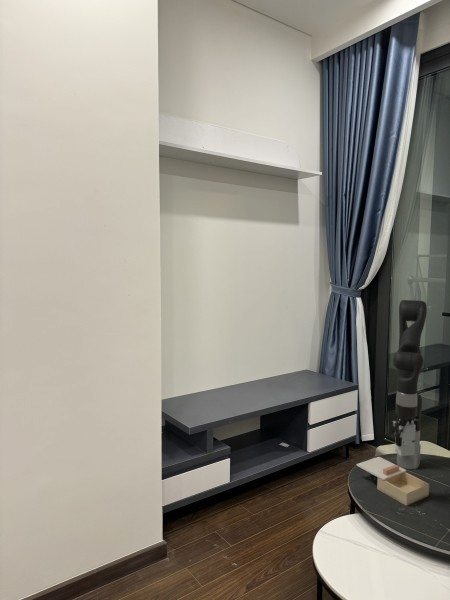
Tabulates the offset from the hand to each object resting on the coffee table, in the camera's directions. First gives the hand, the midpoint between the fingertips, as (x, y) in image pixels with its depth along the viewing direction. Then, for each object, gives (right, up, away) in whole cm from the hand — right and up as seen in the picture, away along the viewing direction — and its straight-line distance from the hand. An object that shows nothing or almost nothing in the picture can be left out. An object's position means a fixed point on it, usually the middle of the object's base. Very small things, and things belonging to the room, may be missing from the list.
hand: (404, 443), depth 166 cm
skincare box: (0, -4, 0) cm, 4 cm away
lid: (-5, -15, +12) cm, 20 cm away
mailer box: (+1, -21, +4) cm, 21 cm away
